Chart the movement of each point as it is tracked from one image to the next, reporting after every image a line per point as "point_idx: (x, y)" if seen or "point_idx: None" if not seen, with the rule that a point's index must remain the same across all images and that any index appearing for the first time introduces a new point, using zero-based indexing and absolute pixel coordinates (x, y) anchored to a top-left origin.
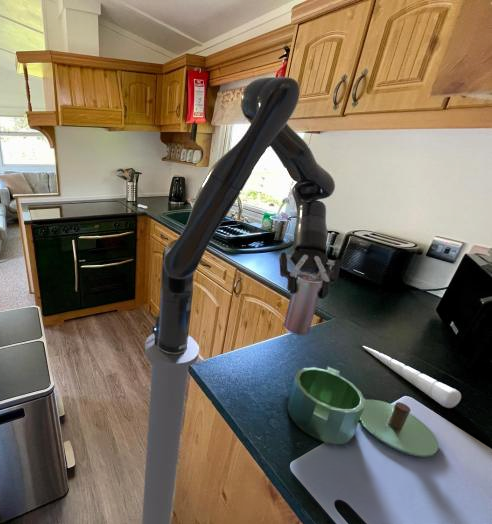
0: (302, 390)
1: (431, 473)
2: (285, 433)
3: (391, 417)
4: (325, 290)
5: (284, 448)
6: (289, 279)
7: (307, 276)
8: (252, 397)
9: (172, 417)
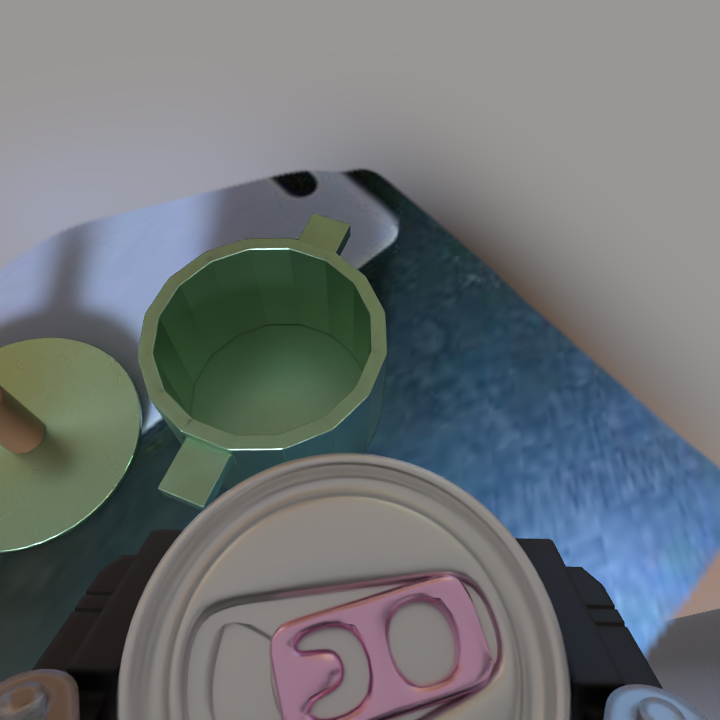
0: (370, 288)
1: (34, 314)
2: (398, 312)
3: (32, 420)
4: (129, 568)
5: (405, 269)
6: (649, 673)
7: None
8: (501, 419)
9: (674, 623)
